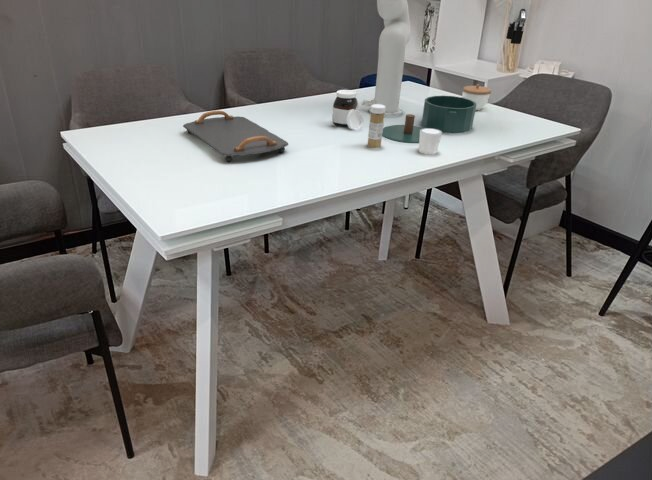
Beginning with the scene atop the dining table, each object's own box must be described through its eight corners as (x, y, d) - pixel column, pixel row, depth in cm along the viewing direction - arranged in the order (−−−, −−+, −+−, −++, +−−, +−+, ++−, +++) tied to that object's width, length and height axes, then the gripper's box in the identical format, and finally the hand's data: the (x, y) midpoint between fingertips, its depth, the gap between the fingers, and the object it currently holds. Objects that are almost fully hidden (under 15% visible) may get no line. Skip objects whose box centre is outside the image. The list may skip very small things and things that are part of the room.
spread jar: (339, 120, 202) (341, 87, 196) (368, 124, 198) (371, 91, 192) (326, 128, 193) (328, 94, 187) (357, 133, 189) (360, 99, 183)
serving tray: (179, 130, 187) (177, 112, 184) (240, 121, 197) (239, 104, 194) (226, 167, 159) (226, 146, 155) (295, 154, 169) (295, 135, 166)
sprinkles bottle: (375, 144, 179) (380, 103, 172) (383, 149, 176) (388, 106, 169) (364, 146, 178) (368, 104, 171) (371, 150, 174) (376, 108, 167)
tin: (422, 134, 190) (426, 108, 185) (420, 116, 209) (423, 92, 204) (474, 138, 187) (480, 112, 183) (467, 119, 207) (472, 95, 202)
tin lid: (379, 142, 181) (381, 121, 178) (380, 126, 197) (383, 106, 193) (436, 146, 179) (440, 125, 175) (433, 129, 195) (436, 109, 191)
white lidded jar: (454, 105, 224) (459, 81, 219) (478, 104, 227) (482, 81, 222) (468, 112, 215) (472, 88, 211) (492, 111, 218) (497, 87, 213)
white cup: (440, 156, 171) (444, 134, 167) (418, 156, 171) (421, 134, 167) (436, 149, 177) (439, 128, 173) (414, 148, 177) (418, 127, 173)
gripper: (509, -18, 186) (498, 36, 195) (517, -14, 171) (505, 44, 180) (532, -17, 185) (520, 38, 194) (543, -13, 170) (529, 46, 179)
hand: (513, 41), depth 187 cm, fingers open, 9 cm apart
